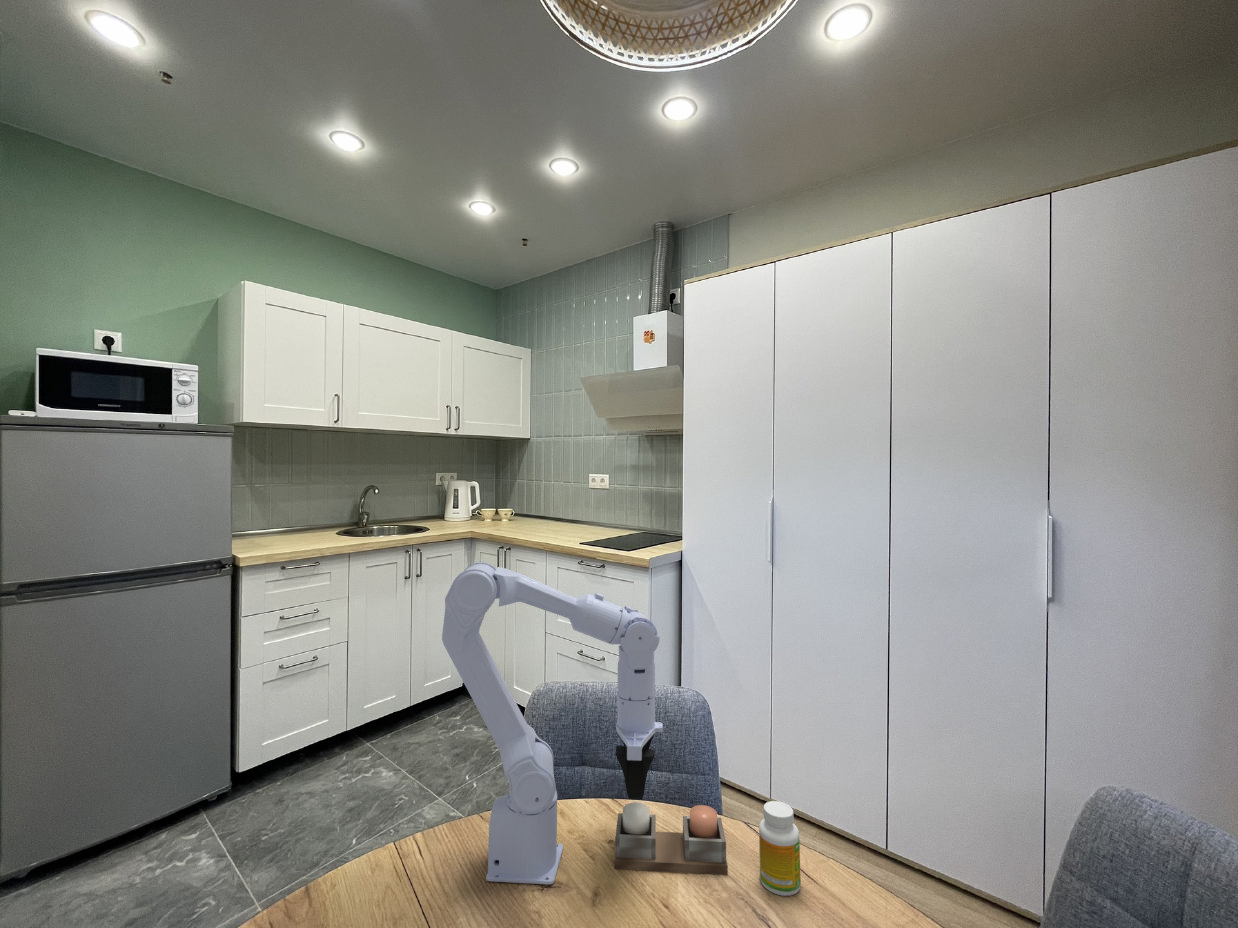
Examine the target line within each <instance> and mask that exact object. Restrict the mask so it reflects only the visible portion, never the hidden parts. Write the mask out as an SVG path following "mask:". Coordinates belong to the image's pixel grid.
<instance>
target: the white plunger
mask: <svg viewBox="0 0 1238 928" xmlns="http://www.w3.org/2000/svg"><path fill="white" fill-rule="evenodd" d="M622 813H623V829H624V831H625V832H627V833H628V834H631V835H642V834H645V833H647V832H648V831H649V828H650V815H651V814H650V807H649V806H648V805H646V804H644V803H641V802H638V801H637V802H628V803H626V805H624V806H623V808H622Z"/></svg>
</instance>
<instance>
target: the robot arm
mask: <svg viewBox="0 0 1238 928" xmlns="http://www.w3.org/2000/svg"><path fill="white" fill-rule="evenodd" d="M497 599H498V607H503V606H507V605H512V604H515V603H523V604H526V605H529V606H532V607H534V608H537V609H541V610H544V611H546V612H549V613H551V614H552V613H553V614H555V615H558V616H561V617H563V618H567V619H568V620H569V622H570V624H571V627H572V629H573V631H576V632H578V633H580V634H583V635H585V636H589V637H591V638H594V639H596V640H599V641H601V642H604V643H606V644H608V645H618V661H617V708H616V709H617V710H616V711H617V719H616V720H617V722H616V723H615V730H616V732H617V734H618V735H619V737H620V739H621V740H622V743H623V745H616V748H615V756H616V760H617V761H618V763H619V765H620V767H621V770H622V773H623V778H624V784H625V789H626V791H625V792H626V794H627V799H629V800H642V799H643V798H644V795H645V789H646V783H647V779H648V778H647V777H648V772H649V770H650V767H651V766H652V765H651V764H652V763H653V761H654V758H655V756H656V755H655V754H656V753H655V752H656V750H655V749H650V746H651V744H652V742H653V739H654V737H655V735H656V733H663V731H664V730H663V729H664V728H663V726H664V725H663V723H662V722H661V721H659V722H658V721H656V697H655V696H656V670H655V669H656V663H655V651H656V650H657V648H658V647H659V644H660V640H661V639H660V638H661V637H660V636H658V630H657V628H656V626H655V625H654V623H653V622H652V621H651V620H650V619H649V618H648V617H647V616H646V615H644V613H642V612H639V611H638V609H633V608H632V607H631V606H628V605H624V607H622V606H620V605H618V604H615V603H612V602H610V601H608V600H605V596H604V595H603V594H601V593H599V592H595V593H594V595H593V594H590V593H585V594H583V595H581V596H577V597H575V596H573V595H570V594H567V593H566V592H564V591H561V590H559V589H557V588H554V587H552V586H549V585H547V584H545V583H543V582H540V581H539V580H535V579H533V578H531V577H529V576H527V575H524V574H522V573H520V572H517V571H514V570H511V569H509V568H505V567H501V566H497V568H496V567H494V566H493V565H492V564H490V563H488V562H483V561H481V562H480V561H478V562H475V563H474V562H473V563H472V564H470V565H468V566H467V567H466V568H465V569H464V570H463V571H462V572H460V573H459V574H458V575H457V576H456V577H455V578H454V580H453V582H452V584H451V585H450V587H449V590H448V591H447V594H446V596H445V598H444V603H445V604H444V605H445V606H444V615H443V616H444V617H443V625H442V626H443V627H442V635H441V640H442V644H443V646H444V648H445V650H446V652H447V654H448V656H449V658H450V659H451V661H452V663H453V665H454V667H455V669H456V670H457V671H456V672H457V673H458V675H459V676H460V678H461V680H462V682H463V685H464V686H465V688H466V689H467V691H468V693H469V695H470V697H471V699H472V701H473V702H474V704H475V707H476V709H477V711H478V712H479V714H480V716H481V718H482V719H483V721H484V724H485V726H486V727H487V730H488V731H489V733H490V735H491V736H492V739H493V741H494V743H495V745H496V746H497V748H498V751H499V755H500V759H501V764H502V767H503V770H504V771H503V772H504V774H505V777H506V778H507V780H508V784H509V791H508V792H509V793H507V795H504V796H498V797H496V798H495V800H494V803H493V804H492V808H491V812H490V817H489V823H488V843H487V844H488V845H487V846H488V848H487V850H488V851H487V874H486V875H485V876H486V877H485V880H486V881H487V882H500V883H501V882H502V883H516V884H517V883H518V884H536V885H553V884H554V883H555V880H556V877H557V873H558V869H559V866H560V862H561V858H562V854H563V851H564V845H563V844H562V843H557V842H558V792H557V789H556V780H555V776H554V761H555V760H554V758H555V757H554V752H553V749H552V748H551V746H550V745H549V744H548V743H547V742H546V741H544V740H543V739H541V738H540V737H539V736H538V735H537V733H536V731H535V730H534V728H533V727H532V726H531V725H529V723H527V721H526V719H525V717H524V715H523V713H522V712H521V709H520V707H519V706H518V704H517V702H516V700H515V699H514V696H513V695H512V693H511V691H510V688H509V687H508V685H507V683H506V681H505V680H504V677H503V675H502V674H501V672H500V670H499V668H498V666H497V665H496V662H495V661H494V659H493V656H492V655H491V653H490V651H489V649H488V647H487V645H486V643H485V641H484V640H483V638H482V636H481V634H480V630H481V626H482V623H483V621H484V619H485V615H486V614H487V612H489V610H490V608H491V607H492V605H493V604H494V603H495V600H497Z"/></svg>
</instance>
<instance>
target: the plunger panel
mask: <svg viewBox="0 0 1238 928" xmlns="http://www.w3.org/2000/svg"><path fill="white" fill-rule="evenodd" d="M656 818H657V817H656V814H650V828H649V831H648V832H647V833H645V834H642V835H631V834H628V833H627V832H625V831H624V829H623V812H622V813H618V814H617V820H616V821H617V822H616V827H615V828H616V829H615V839H614V840H615V843H614V844H615V847H614V848H615V849H614V851H615V853H614V859H613V860H614V861H613V862H614V864H613V867H614V868H613V869H614V870H626V871H628V870H629V871H643V872H645V871H646V872H661V873H662V872H666V873H683V874H684V873H685V874H689V873H690V874H701V875H702V874H703V875H704V874H706V875H707V874H708V875H723V876H728V872H729V871H728V870H729V869H728V861H727V841H726V837H725V831H724V826H723V821H722V817H717V834H716V835H715V836H714V837H712V838H699V837H697V836H695V835H693V834H692V833H691V831H690V815H689V816H688V815H683V816H682V832H678V831H677V832H675V831H673V832H671V831H656V830H657V827H656V824H657V822H656Z"/></svg>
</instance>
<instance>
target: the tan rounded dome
mask: <svg viewBox="0 0 1238 928" xmlns="http://www.w3.org/2000/svg"><path fill="white" fill-rule="evenodd" d="M689 816H690V831H691V833H692V834H693V835H695V836H697V837H699V838H712V837H714V836H715V835H716V834H717V818H718V813H717V811H716V809H714V808H713V807H711V806H708V805H706V804H705V805H704V804H701V805H700V804H697V805H695V806H692V807H691V808H690V809H689Z"/></svg>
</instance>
